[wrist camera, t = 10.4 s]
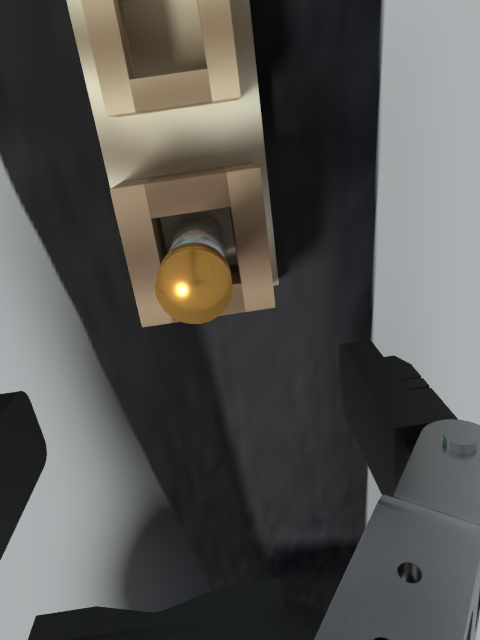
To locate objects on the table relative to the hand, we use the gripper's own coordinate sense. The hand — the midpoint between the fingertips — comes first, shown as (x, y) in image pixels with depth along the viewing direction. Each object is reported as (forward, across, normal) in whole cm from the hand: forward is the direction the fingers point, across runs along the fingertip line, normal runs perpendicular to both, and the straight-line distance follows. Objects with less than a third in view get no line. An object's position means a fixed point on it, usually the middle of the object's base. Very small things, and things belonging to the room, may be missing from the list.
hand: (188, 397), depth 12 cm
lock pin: (+19, 0, 0) cm, 19 cm away
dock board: (+20, 0, -5) cm, 21 cm away
